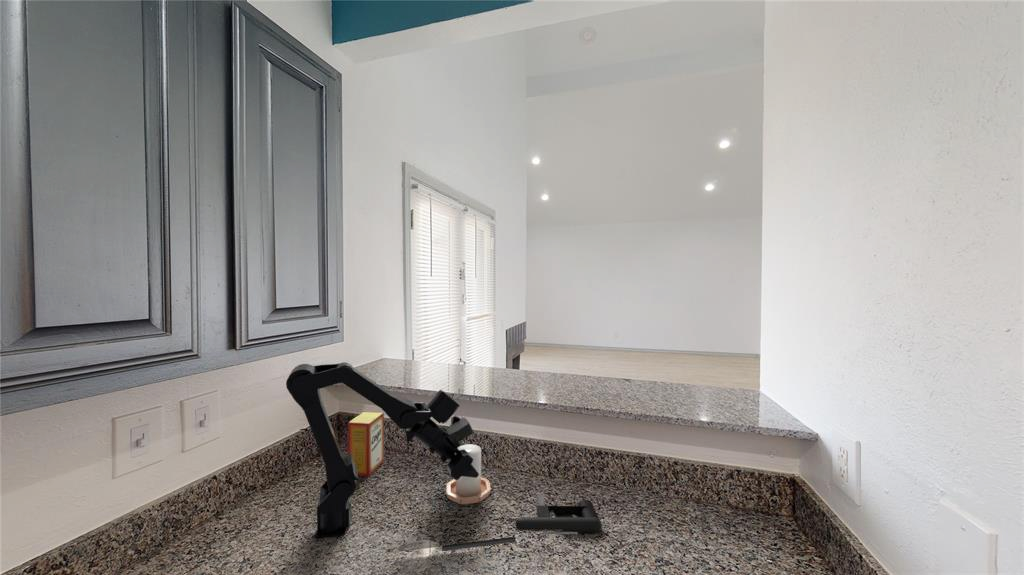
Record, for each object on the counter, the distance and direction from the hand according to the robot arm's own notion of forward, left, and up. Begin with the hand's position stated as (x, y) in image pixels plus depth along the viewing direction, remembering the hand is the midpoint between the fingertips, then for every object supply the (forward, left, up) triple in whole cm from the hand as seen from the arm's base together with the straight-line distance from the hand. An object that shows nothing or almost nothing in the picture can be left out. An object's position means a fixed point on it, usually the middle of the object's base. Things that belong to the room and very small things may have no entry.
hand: (473, 469), depth 101 cm
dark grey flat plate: (0, -14, -7) cm, 16 cm away
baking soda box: (-31, +20, -7) cm, 38 cm away
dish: (-1, 0, -7) cm, 7 cm away
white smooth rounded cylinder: (-1, 0, -5) cm, 6 cm away
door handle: (+19, -13, -7) cm, 24 cm away
